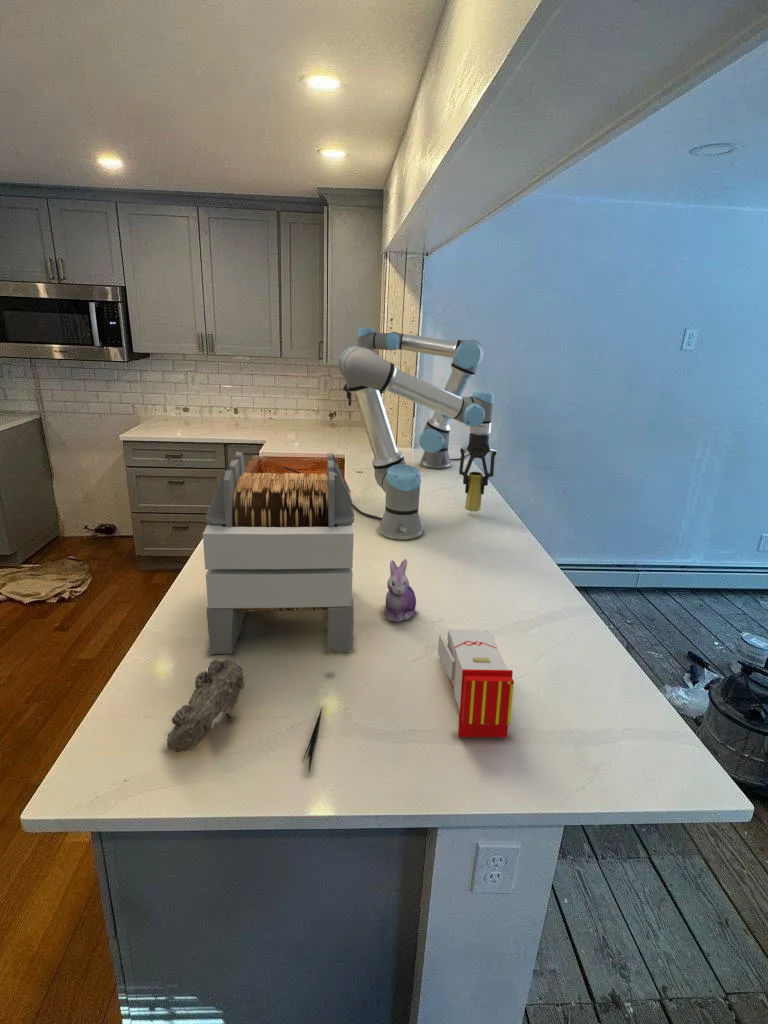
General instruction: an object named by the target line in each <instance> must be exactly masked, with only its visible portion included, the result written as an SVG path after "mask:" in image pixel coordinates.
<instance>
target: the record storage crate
mask: <svg viewBox="0 0 768 1024" xmlns="http://www.w3.org/2000/svg"><path fill="white" fill-rule="evenodd" d="M244 455H245V454H244V451H242V452H241V451H236V452H235V454H234V456H233V458H232V459H230V463H229V465H228V467H227V469H226V470H224V473H223V475H222V478H221V479H220V482H219V484H218V487H217V489H216V491H215V494H214V495H213V497H212V500H211V502H210V505H209V507H208V509H207V511H206V515H205V523H206V524H207V525H206V527H205V529H204V531H203V533H202V543H203V558H204V569H205V570H206V573H205V584H206V587H205V588H206V598H207V599H206V601H207V607H206V623H207V634H208V641H209V642H208V643H209V650H208V653H209V655H216V654H217V655H218V654H221V655H222V654H223V655H226V654H227V655H228V654H230V655H231V654H232V653H233V650H234V648H235V647H236V643H237V641H238V638H239V636H240V634H241V630H242V626H241V625H242V623H241V622H243V621H244V618H245V615H246V612H272V611H273V612H279V611H280V612H284V611H286V612H288V611H289V612H291V611H292V612H293V611H294V612H295V611H303V612H304V611H322V610H323V611H326V636H327V637H326V641H327V645H326V646H327V652H329V653H330V652H332V653H333V652H343V653H349V652H351V651H352V650H354V617H355V616H354V614H355V607H354V598H353V575H354V573H353V566H354V563H353V562H354V537H355V536H354V535H355V532H354V527H353V524H354V522H355V511H354V507H353V505H354V504H353V500H352V495H351V489H350V487H349V485H348V483H347V480H346V479H345V476H344V474H343V472H342V470H341V467H340V465H339V463H338V461H337V459H336V457H335V455H334V453H333V452H327V453H326V456H327V457H326V468H327V469H326V473H320V474H318V473H307V474H306V473H303V472H301V473H296V472H292V473H291V472H290V473H288V472H283V473H276V472H273V473H271V472H263V473H262V472H259V473H258V472H253V473H252V472H245V468H246V467H245V456H244ZM306 475H307V477H306ZM308 475H309V477H308ZM352 504H353V505H352Z"/></svg>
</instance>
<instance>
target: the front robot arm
mask: <svg viewBox="0 0 768 1024" xmlns="http://www.w3.org/2000/svg"><path fill="white" fill-rule="evenodd" d="M338 369H339V371H340V373H341V375H342V376H343V378H344V381H345V384H347V389H348V390H349V392H351V395H352V394H353V395H354V398H355V401H356V404H357V406H358V410H359V413H360V416H361V419H362V422H363V423H362V424H363V425H364V429H365V433H366V435H367V438H368V441H369V444H370V448H371V450H372V453H373V456H374V458H373V459H372V462H371V465H372V467H373V470H374V479H375V481H376V483H377V485H378V486H379V487H380V488H381V489H382V490H383V492H384V494H385V504H384V505H385V507H384V508H385V509H384V513H383V515H382V517H380V516H377V515H372V514H369V513H366V512H363V510H362V511H361V510H360V509H359V508H358V507H357V506H356V505H355V504H354V503H352V505H353V509H355V510H356V511H357V512H358V513H359V514H361V515H363V516H365V517H368V518H373V519H377V520H380V521H381V522H379V526H378V533H379V534H380V535H381V536H382V537H385V538H387V539H389V540H395V541H410V540H415V539H418V538H420V537H421V536H422V535H423V525H422V524H421V518H420V515H419V507H420V506H419V505H420V494H421V493H420V492H421V483H422V480H421V471H420V470H419V469H418V468H416V467H415V466H412V465H409V464H407V463H406V460H405V457H404V454H403V452H402V451H400V450H398V448H397V444H396V442H395V438H394V435H393V431H392V428H391V425H390V421H389V418H388V414H387V411H386V408H385V405H384V401H383V399H382V394H381V395H380V392H379V391H381V392H384V393H386V392H389V393H392V394H393V395H396V396H399V397H401V398H403V399H406V400H408V401H409V402H413V403H415V404H416V405H417V404H418V405H420V406H422V407H425V408H427V409H428V410H429V409H430V410H432V411H434V412H435V411H436V412H439V413H440V414H441V416H442V417H443V418H452V420H455V421H457V422H460V423H462V424H464V425H465V426H467V427H469V432H470V433H469V436H468V437H469V439H468V445H467V446H466V447H460V449H459V451H460V452H459V453H460V458H461V460H459V461H460V462H459V470H458V474H459V475H460V476H462V477H463V478H462V484H463V485H465V490H464V493H465V494H467V490H468V480H469V472H470V469H471V467H472V464H473V461H474V459H480V460H481V463H482V468H483V472H484V473H483V474H484V475H483V480H482V495H484V493H485V486H486V487H487V486H488V483H489V478H490V477H491V478H493V477H494V474H495V472H494V471H495V459H496V456H497V450H496V449H492V448H491V447H490V438H491V435H490V433H491V430H492V429H491V428H492V419H493V418H492V417H493V409H494V399H495V398H494V393H493V392H492V391H490V390H483V389H482V390H480V389H479V390H474V391H473V393H472V395H470V396H461V397H459V396H457V395H454V394H452V393H450V392H448V391H445V390H444V389H443V388H441V387H439V386H437V385H434V384H432V383H430V382H427V381H425V380H423V379H421V378H418V377H416V376H414V375H412V374H410V373H407V372H406V371H403V370H401V369H398V368H397V366H396V364H394V363H393V362H391V361H388V360H387V359H385V358H383V357H382V356H380V355H378V354H377V353H376V352H374V350H373V351H371V350H369V349H366V348H365V347H363V346H358V345H353V346H349V347H347V348H345V349H344V350H343V351H342V353H341V355H340V356H339V359H338ZM467 452H468V454H470V455H471V456H470V455H469V459H468V461H467V463H466V466H465V469H464V463H465V457H464V456H465V455H467ZM487 454H489V455H490V464H489V471H488V466H487V461H486V456H487ZM282 468H283V469H284V470H287V471H291V472H292V473H302V472H301V471H298V470H295V469H293V468H290V467H287V466H283V467H282ZM306 477H307V474H306ZM308 477H309V474H308ZM482 495H481V496H482Z"/></svg>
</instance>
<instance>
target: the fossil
mask: <svg viewBox="0 0 768 1024" xmlns="http://www.w3.org/2000/svg"><path fill="white" fill-rule="evenodd" d="M243 670H244V669H243V667H242V665H240V664H237V662H236V661H235V660H234V659H232V658H231V659H227V658H226V659H224V660H223V661H222V660H217V659H212V660H211V661H210V663H209V665H208V666H207V671H201V672H199V673H198V674H197V675H196V676H195V680H194V684H195V685H194V687H195V689H194V690H193V693H192V694H191V697H190V698H189V700H188V704H184V705H182V706H181V707H180V709H177V710H176V711H175V713H174V715H173V716H172V718H171V723H172V724H173V727H172V730H171V731H170V732H168V734H167V738H166V741H167V742H166V745H167V749H168V750H169V751H173V752H174V753H176V754H178V753H182V752H188V751H189V752H192V751H193V750H195V748H196V747H197V746H199V744H200V743H201V742H203V741H204V740H205V739H206V738H207V737H208V736H209V735H210V734H211V733H212V732H214V730H215V729H217V727H218V726H219V724H220V722H221V721H222V720H223V719H224V718H225V716H226V717H227V719H229V720H233V717H232V715H230V714H229V710H230V709H231V708H234V706H235V704H236V703H237V702H238V699H239V697H240V695H241V693H242V691H243V690H245V689H244V688H245V675H244V671H243Z"/></svg>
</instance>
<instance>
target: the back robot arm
mask: <svg viewBox="0 0 768 1024" xmlns="http://www.w3.org/2000/svg"><path fill="white" fill-rule="evenodd" d="M357 346H363V347H365V348H366V349H369V350H371V351H373V352H374V350H380V351H381V350H382V351H397V350H400V351H407V352H412V353H420V354H425V355H433V356H438V357H444V358H451V359H452V362H451V364H450V368H451V373H450V375H449V378H448V380H447V382H446V385H445V387H444V389H443V390H445V391H448V392H450V393H452V394H454V395H457V396H459V397H463V394H464V391H465V389H466V387H467V386H468V382H469V381H470V379H471V377H474V376H475V375H476V372H477V370H478V368H479V365H480V364H481V362H482V361H483V359H484V357H485V348H484V346H483V344H482V343H481V342H479V341H477V340H474V339H470V340H469V339H468V340H467V339H466V340H465V339H456V340H455V341H454V340H448V339H440V338H434V337H427V336H421V335H414V334H409V333H400V332H397V331H392V332H376V331H375V329H374V327H367V326H366V327H365V326H363V327H362V326H361V327H359V328H358V330H357ZM342 390H343V391H345V392H346V399H348V407H351V406H352V393H351V392H349V390H348V387H347V384H346V383H345V384H344V386H343V388H342ZM379 392H380V395H381V396H382V394H384V393H385V392H381V391H379ZM452 420H453V418H443V417H442V416H441V414H440V413H439V412H436V411H434V412H433V415H432V418H429V419H427V421H426V424H425V426H424V428H423V431H422V432H421V433H420V435H419V439H418V441H419V446H420V448H421V449H422V450H423V453H422V456H421V458H420V465H421V466H422V467H424V468H426V469H433V470H444V469H449V468H450V467H451V461H461V457H460V458H450V454H449V443H450V432H451V421H452ZM468 456H469V457H470V456H471V455H470V453H466V454H464V458H466V457H468Z"/></svg>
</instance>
